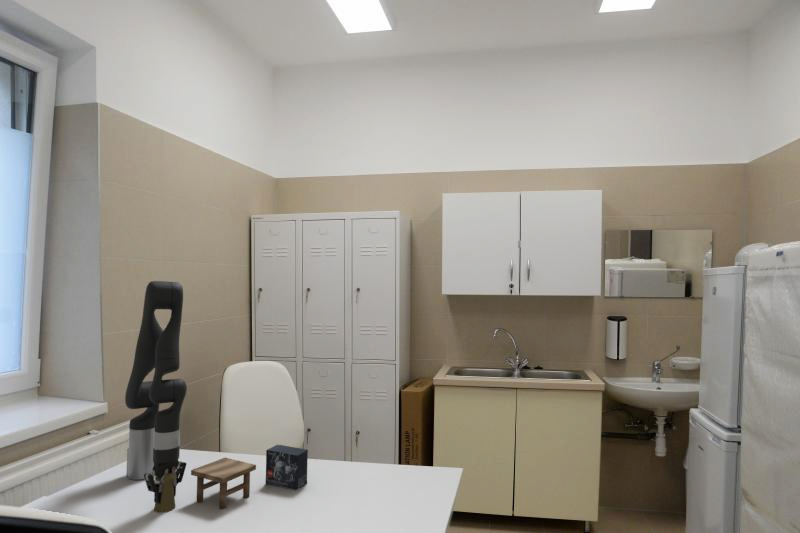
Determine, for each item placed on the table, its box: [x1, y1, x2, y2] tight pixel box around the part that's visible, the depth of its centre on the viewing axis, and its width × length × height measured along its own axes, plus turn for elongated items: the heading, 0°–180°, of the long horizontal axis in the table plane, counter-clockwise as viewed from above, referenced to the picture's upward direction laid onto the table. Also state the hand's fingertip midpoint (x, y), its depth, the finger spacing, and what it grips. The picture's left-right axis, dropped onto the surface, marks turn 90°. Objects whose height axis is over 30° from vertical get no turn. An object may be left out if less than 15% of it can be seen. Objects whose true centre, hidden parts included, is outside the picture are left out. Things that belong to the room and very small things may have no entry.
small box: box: [265, 444, 309, 491], centre depth 183 cm, size 13×7×12 cm, turn 68°
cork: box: [153, 472, 176, 514], centre depth 162 cm, size 6×6×11 cm
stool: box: [190, 457, 257, 510], centre depth 170 cm, size 14×14×10 cm
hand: (164, 500), depth 162 cm, fingers closed on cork, 4 cm apart
